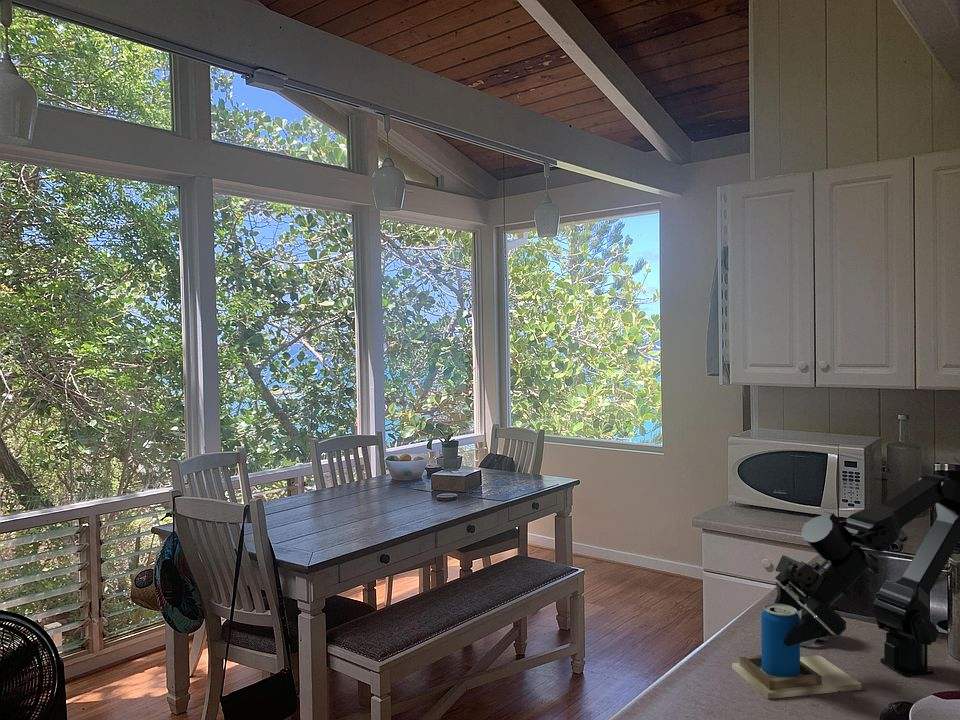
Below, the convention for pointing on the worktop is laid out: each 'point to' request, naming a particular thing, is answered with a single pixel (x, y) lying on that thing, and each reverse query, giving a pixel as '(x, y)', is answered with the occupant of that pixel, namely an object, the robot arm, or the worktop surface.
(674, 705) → the worktop surface
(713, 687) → the worktop surface
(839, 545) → the robot arm
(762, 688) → the can holder
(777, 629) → the beverage can
